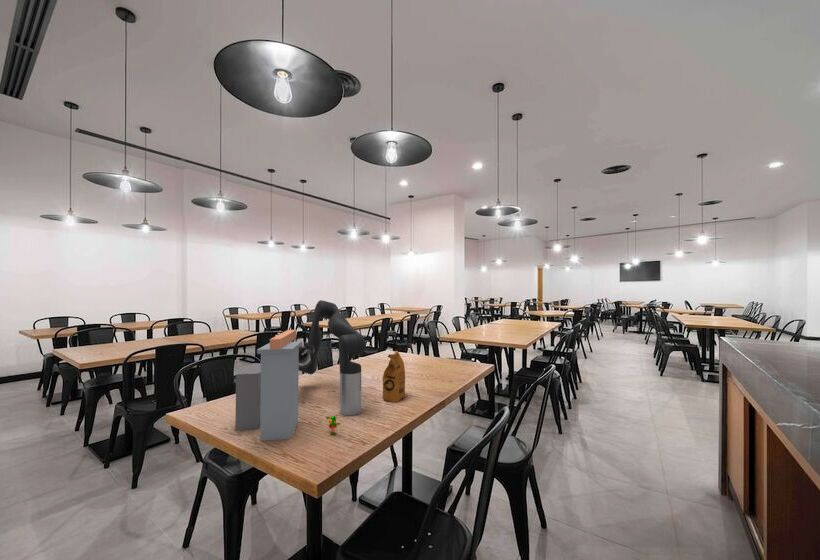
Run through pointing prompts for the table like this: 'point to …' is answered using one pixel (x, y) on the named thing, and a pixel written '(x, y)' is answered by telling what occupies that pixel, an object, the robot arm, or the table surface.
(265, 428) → the pedestal
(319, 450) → the table surface
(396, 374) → the coffee package
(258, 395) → the shelf
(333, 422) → the toy character
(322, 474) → the table surface
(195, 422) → the table surface
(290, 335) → the bar
